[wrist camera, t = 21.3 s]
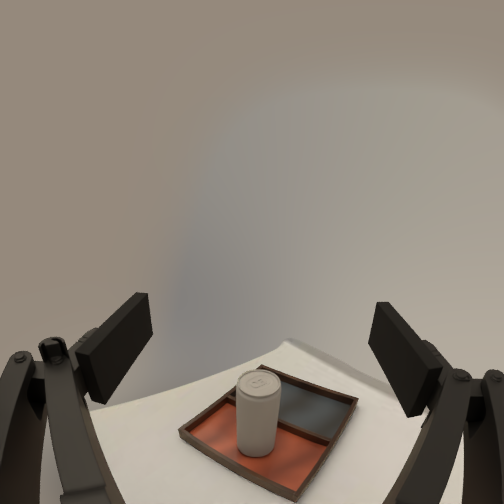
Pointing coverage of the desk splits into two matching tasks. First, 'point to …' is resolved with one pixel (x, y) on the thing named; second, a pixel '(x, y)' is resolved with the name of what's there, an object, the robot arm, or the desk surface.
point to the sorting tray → (277, 435)
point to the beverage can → (257, 411)
